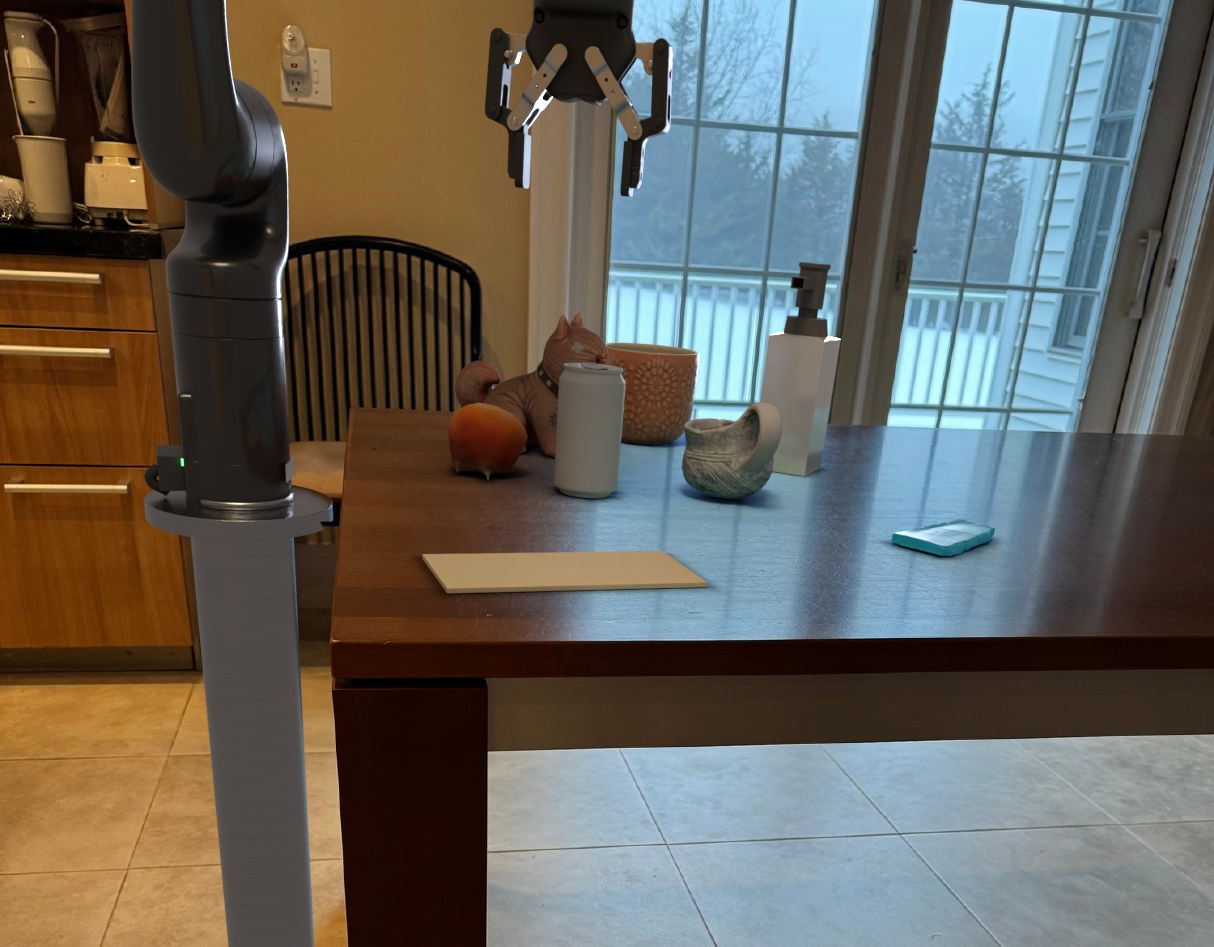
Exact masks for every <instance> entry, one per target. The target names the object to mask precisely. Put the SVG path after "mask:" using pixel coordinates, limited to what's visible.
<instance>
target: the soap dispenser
mask: <svg viewBox="0 0 1214 947" xmlns="http://www.w3.org/2000/svg"><path fill="white" fill-rule="evenodd" d="M798 267H799V268H800V269H799V275H798V276H791V280H790V289H792V290H793V289H795V290H796V298H795V304H794V305H795V308H798V311H797V315H787V316H786V320H785V324H784V328H783V331H782V332H781V331H780V332H776V333H772V334H768V338H767V344H766V345H767V346H766V352H765V362H764V369H763V377H762V384H761V390H760V391H761V392H760V399H759V403H769V404H771V405H773V406H775V407H776V408H777V409H778V410H779V412H780V414H781V419H782V434H781V439H780V442H779V445H778V447H777V450H776V452H775V454H774V455H773V457H774V458H773V459H774V463H773V469H772V472H774V473H781V474H787V475H793V476H798V477H799V476H800V477H806V476H808V475H810V474H812V473H815V472H817V471H819V470H820V469H821V467H822V461H823V455H824V448H825V441H826V434H827V431H828V430H827V428H828V423H829V416H830V410H831V403H832V396H833V390H834V384H835V378H836V372H837V365H838V360H839V352H840V347H841V340H842V339H841V338H838V337H833V336H831V335H829V330H828V329H829V328H828V319H827V318H824V317H823V318H822V317H818V314H819V310H823V307H824V301H825V294H826V288H827V280H828V274H829V270H831V267H832V264H828V263H818V262H807V261H805V262H804V261H799V263H798Z"/></svg>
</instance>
